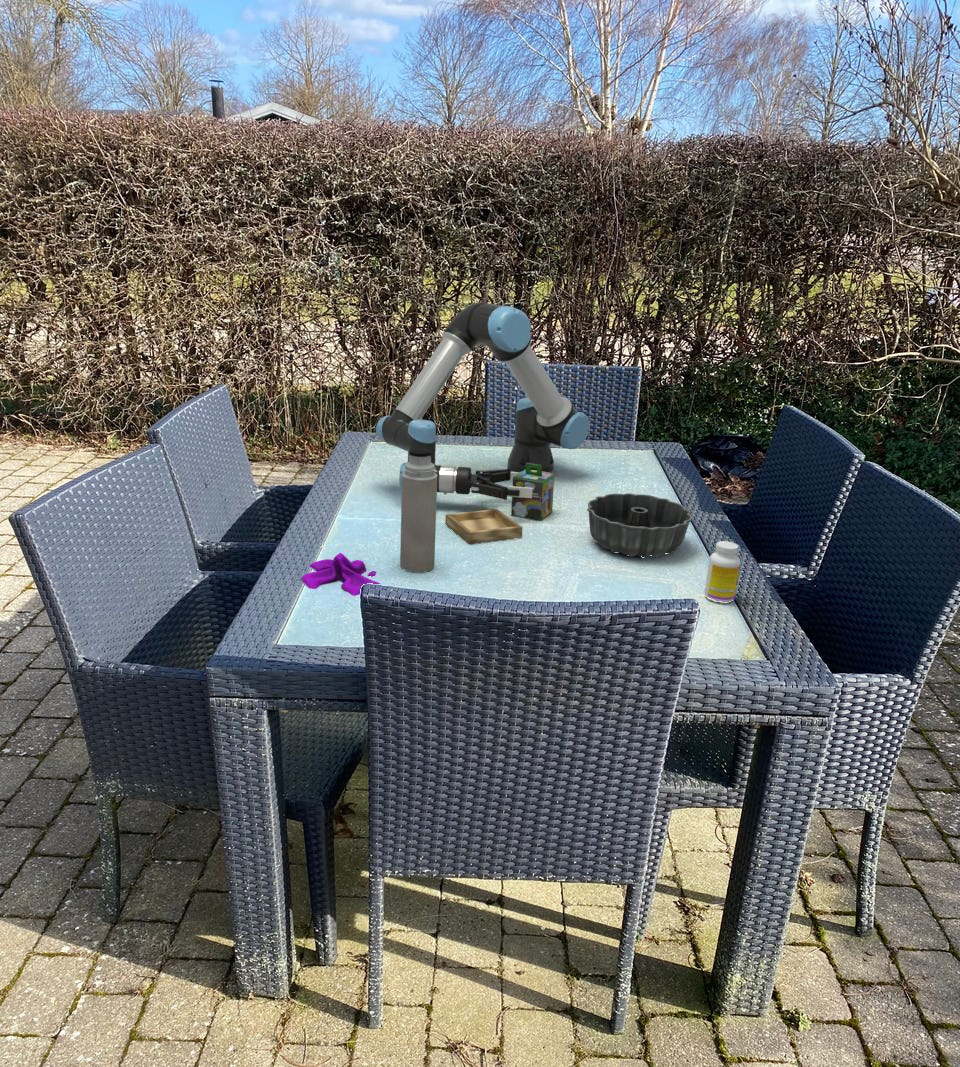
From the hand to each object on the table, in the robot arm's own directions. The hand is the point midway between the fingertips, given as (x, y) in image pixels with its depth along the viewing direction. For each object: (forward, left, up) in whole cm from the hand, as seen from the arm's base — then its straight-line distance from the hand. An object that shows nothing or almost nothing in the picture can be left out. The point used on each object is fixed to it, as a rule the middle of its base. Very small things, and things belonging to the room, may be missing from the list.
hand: (533, 485), depth 244 cm
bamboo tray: (+19, +8, -8) cm, 22 cm away
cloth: (+61, +24, -9) cm, 66 cm away
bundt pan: (-14, +30, -9) cm, 34 cm away
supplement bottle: (-13, +64, -9) cm, 66 cm away
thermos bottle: (+44, +25, -9) cm, 51 cm away
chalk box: (0, 0, -9) cm, 9 cm away
